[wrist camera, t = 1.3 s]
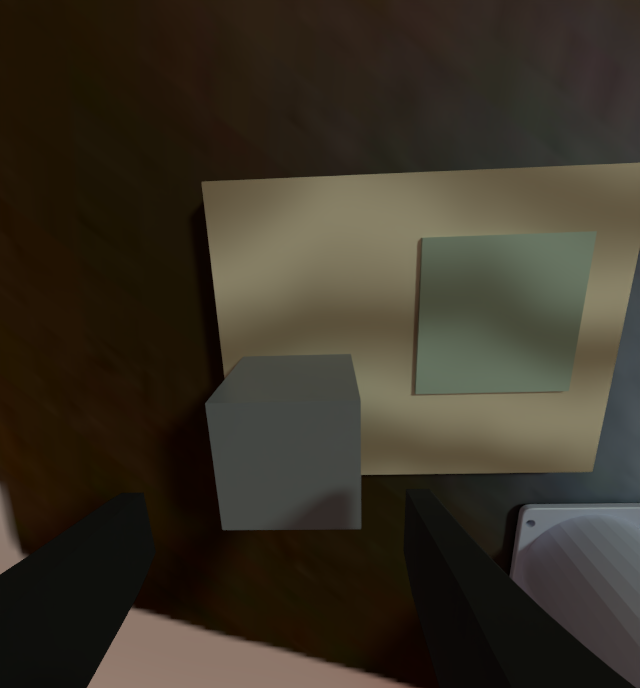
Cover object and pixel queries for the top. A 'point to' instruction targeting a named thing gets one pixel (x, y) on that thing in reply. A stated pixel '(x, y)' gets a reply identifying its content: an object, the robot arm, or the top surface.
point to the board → (440, 303)
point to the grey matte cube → (287, 443)
